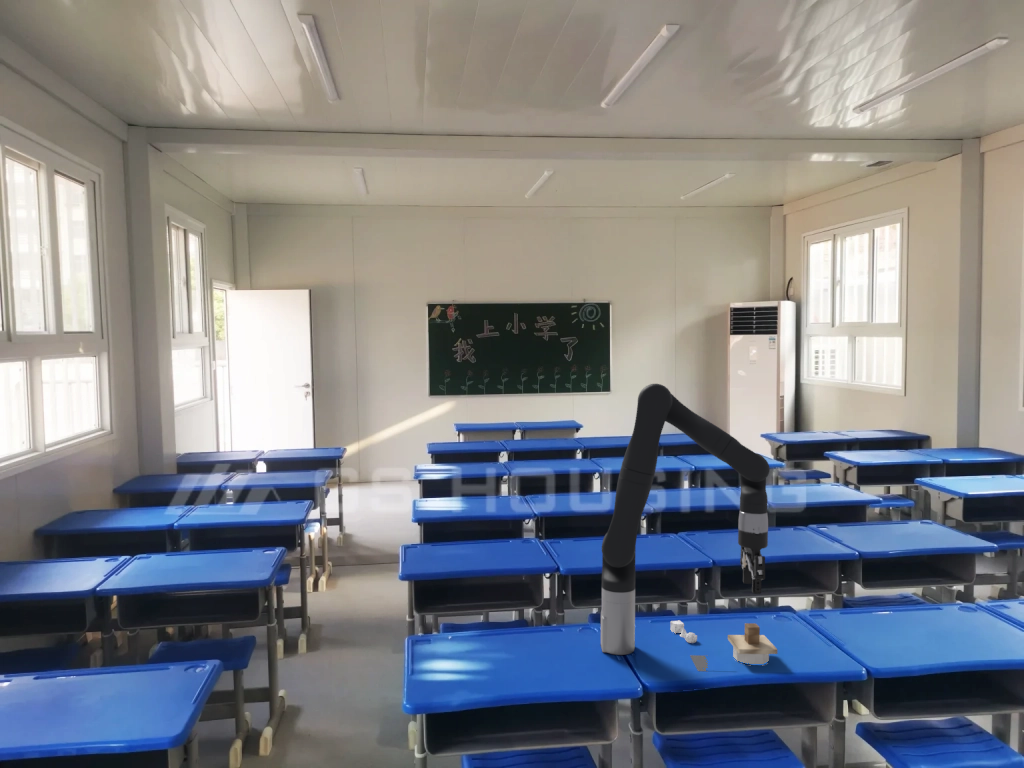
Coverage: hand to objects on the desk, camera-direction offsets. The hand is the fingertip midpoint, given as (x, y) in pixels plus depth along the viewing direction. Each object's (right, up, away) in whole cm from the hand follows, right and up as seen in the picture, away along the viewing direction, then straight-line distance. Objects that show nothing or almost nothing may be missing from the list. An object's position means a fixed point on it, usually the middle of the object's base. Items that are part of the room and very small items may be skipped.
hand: (751, 588), depth 192 cm
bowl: (0, -20, +1) cm, 20 cm away
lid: (0, -16, 0) cm, 16 cm away
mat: (-11, -20, -2) cm, 23 cm away
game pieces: (-14, -20, +17) cm, 29 cm away
